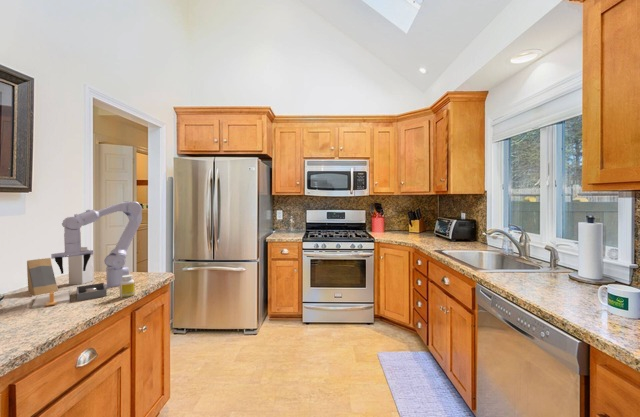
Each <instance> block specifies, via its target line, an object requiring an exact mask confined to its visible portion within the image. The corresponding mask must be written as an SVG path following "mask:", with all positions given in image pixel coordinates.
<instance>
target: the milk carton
mask: <svg viewBox="0 0 640 417" xmlns="http://www.w3.org/2000/svg"><path fill="white" fill-rule="evenodd" d="M88 250H89V249H88V246H81V251H88ZM76 255H80V254H76ZM83 256H84V255H82V256H72V257H67V260H68V263H67V264H68V285H71V286H72V285H74V286H75V285H76V286H77V285H80V286H83V285H85V284H88V283H91V282H93V281H94V254H93V255H90V258H89V260H88V262H87V265H86V269H85V271H83V265H84V258H83Z"/></svg>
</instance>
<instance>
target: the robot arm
mask: <svg viewBox="0 0 640 417" xmlns="http://www.w3.org/2000/svg"><path fill="white" fill-rule="evenodd" d="M117 212H123V214H125V216H126V217H127V218H128V222H127V224H126V227H125V229H124V231H123V232H122V234H121V236H120V237H119V239H118V242H117V243H116V246H115V247H114V248H113V249H112V250H111V251H110V253H109V254H108V255H106V256H105V257H104V261H103V262H104V265H106V269H105V272H106V283H104V284H105V287H106V289H109V288H115V287H120V282H121V281H122V276H124V275H130V270H129V267H128V266H125V264H126V262H127V261H126V259H127V256H128V255H127V254H128V253H127V251H128V249H129V246H130V245H131V244H132V243H131V242H132V241H133V238H134V237H135V235H136V233H137V231H138V229H139V228H140V226H141V223H142V221H143V206H142V205H141V204H140V203H139V202H138V201H133V200H132V201H129V200H128V201H124V202H118V203H117V202H116V203H115V204H112V205H109V206H107V207H104V208H101V209H99V210H94V209H86V210H85V211H84V212H81V213H78V214H77V213H76V214H74V216H67V217H65V218H64V219H63V220H62V223H61V225H62V227H63V228H64V231H63V233H64V234H63V238H64V240H63V241H64V242H63V243H64V252H57V253H51V257H50V258H51V260H53V259H54V261H55V263H56V264H57V266H58V267H59V270H60V274H61V275H64V267H63V265H64V264H63V263H64V262H63V261H64V260H63V259H64V258H68V257H72V256H82V255H84V256H83V258H84V265H83V271H85V269H86V265H87V262H88V260H89V258H90V255H93V256H94V250H93V249H92V250H91V249H90V250H89V249H88V251H81V247H82V238H81V237H82V236H81V234H82V233H81V232H82V231H81V228H82V227H83V226H86V225H89V224H92V223H95V222H98V221H99V220H100V218H101V217H103V216H107V215H110V214H114V213H117ZM76 254H80V255H76Z"/></svg>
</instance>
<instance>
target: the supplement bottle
mask: <svg viewBox="0 0 640 417" xmlns="http://www.w3.org/2000/svg"><path fill="white" fill-rule="evenodd" d="M133 276H134V275H133V274H129V275H124V276H122V281H121V282H120V286H119V298H120V299H123V300H124V299H125V300H126V299H130V298H133V297H135V294H136V293H135V292H136V291H135V287H136V286H135V280H134V279H133Z"/></svg>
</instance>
